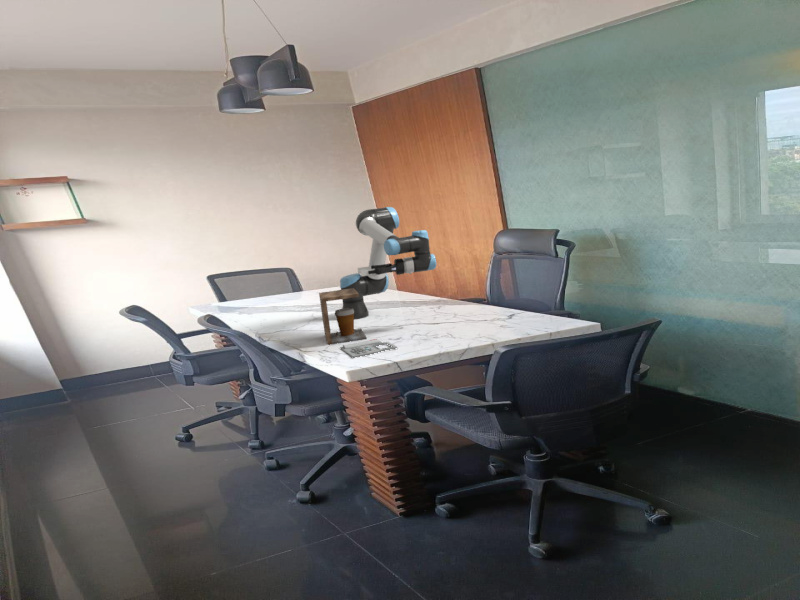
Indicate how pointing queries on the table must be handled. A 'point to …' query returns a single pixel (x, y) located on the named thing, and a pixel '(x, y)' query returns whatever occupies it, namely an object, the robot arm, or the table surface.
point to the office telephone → (365, 348)
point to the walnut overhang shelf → (330, 337)
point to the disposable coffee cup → (345, 321)
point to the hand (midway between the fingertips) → (359, 272)
